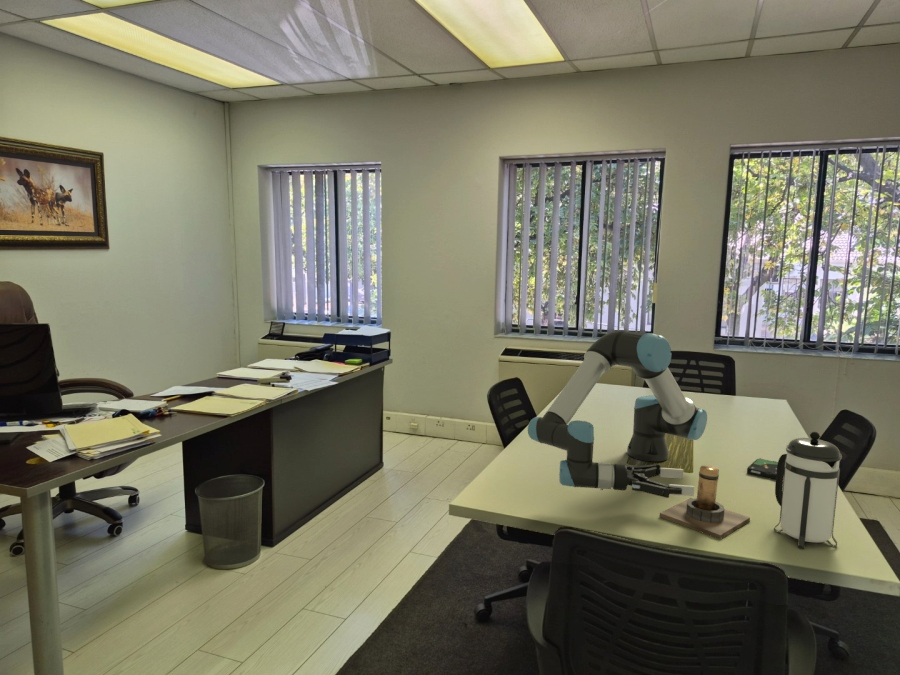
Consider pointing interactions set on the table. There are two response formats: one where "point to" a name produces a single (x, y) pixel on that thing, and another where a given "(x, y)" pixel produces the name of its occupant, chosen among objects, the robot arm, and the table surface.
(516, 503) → the table surface
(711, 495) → the copper tube
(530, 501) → the table surface
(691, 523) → the collar plate
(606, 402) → the table surface
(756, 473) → the disk drive
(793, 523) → the coffee press
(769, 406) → the table surface
